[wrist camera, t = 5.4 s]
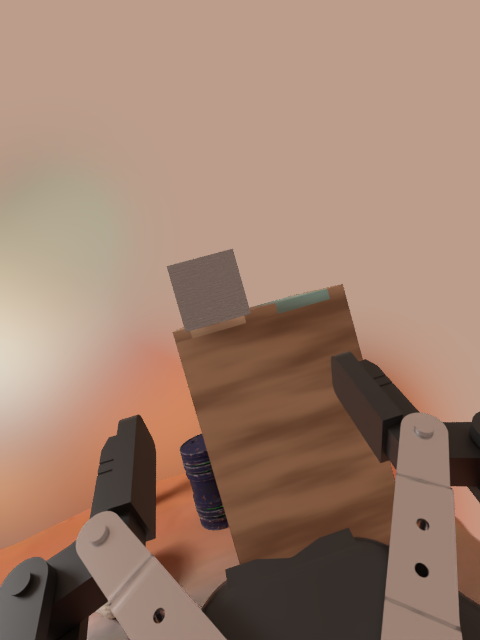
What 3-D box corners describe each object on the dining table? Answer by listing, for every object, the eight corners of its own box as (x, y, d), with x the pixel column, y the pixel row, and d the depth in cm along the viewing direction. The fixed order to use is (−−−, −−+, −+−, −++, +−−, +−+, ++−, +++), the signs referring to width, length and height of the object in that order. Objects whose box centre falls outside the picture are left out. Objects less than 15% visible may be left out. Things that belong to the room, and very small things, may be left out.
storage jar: (257, 499, 68) (237, 429, 67) (231, 533, 60) (208, 454, 59) (218, 495, 73) (199, 430, 73) (190, 527, 65) (168, 454, 64)
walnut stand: (444, 665, 32) (342, 284, 31) (286, 725, 31) (172, 332, 30) (361, 539, 50) (294, 295, 49) (259, 574, 49) (187, 325, 47)
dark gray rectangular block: (250, 313, 20) (232, 248, 20) (185, 332, 20) (166, 266, 20) (228, 313, 48) (220, 286, 48) (201, 321, 48) (193, 294, 47)
